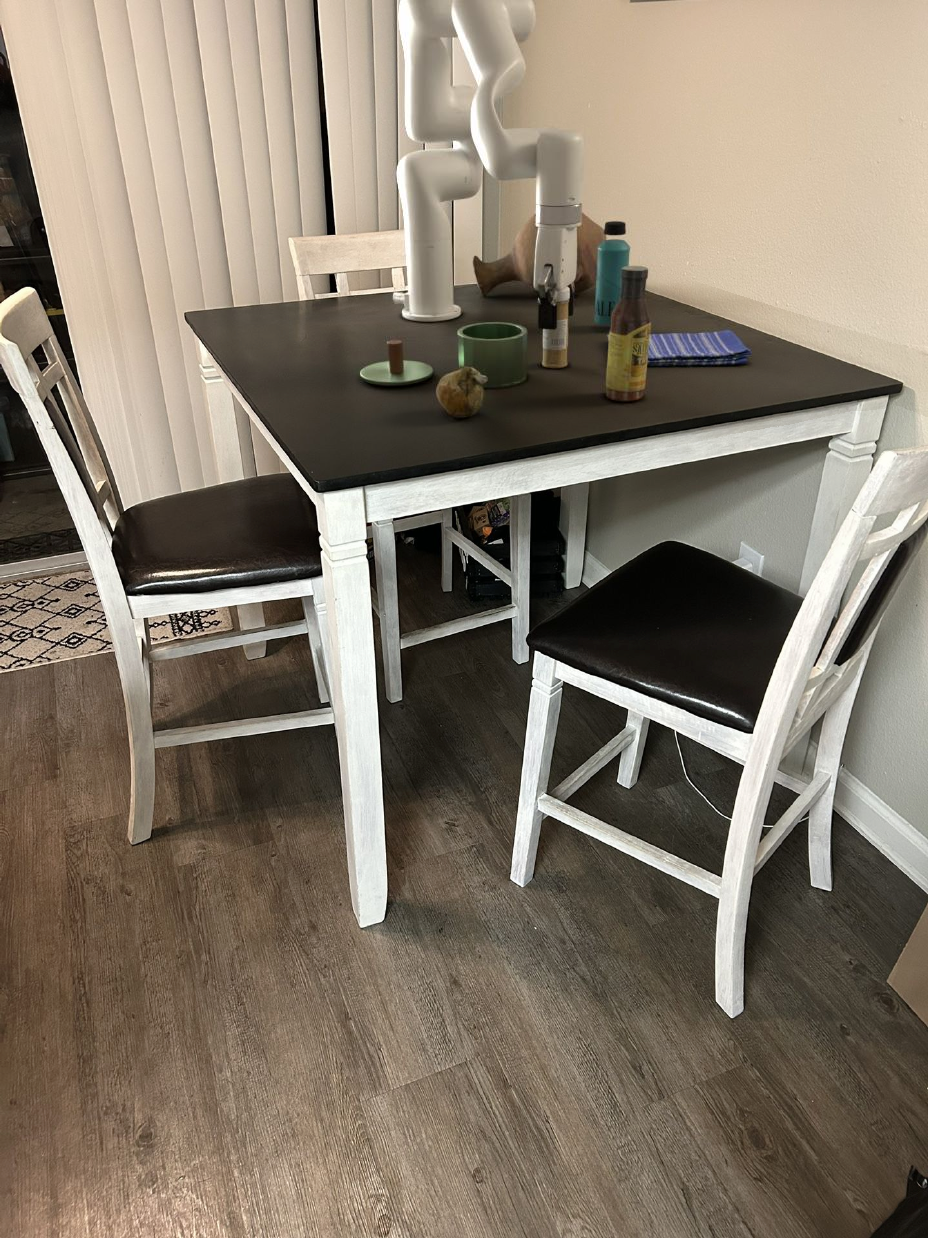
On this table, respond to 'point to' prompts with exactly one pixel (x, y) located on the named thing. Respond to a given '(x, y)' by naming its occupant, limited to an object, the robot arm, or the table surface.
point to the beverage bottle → (610, 272)
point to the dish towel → (696, 349)
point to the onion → (461, 392)
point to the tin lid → (396, 369)
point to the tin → (494, 352)
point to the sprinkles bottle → (557, 334)
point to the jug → (523, 259)
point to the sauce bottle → (629, 338)
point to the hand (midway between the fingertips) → (556, 321)
